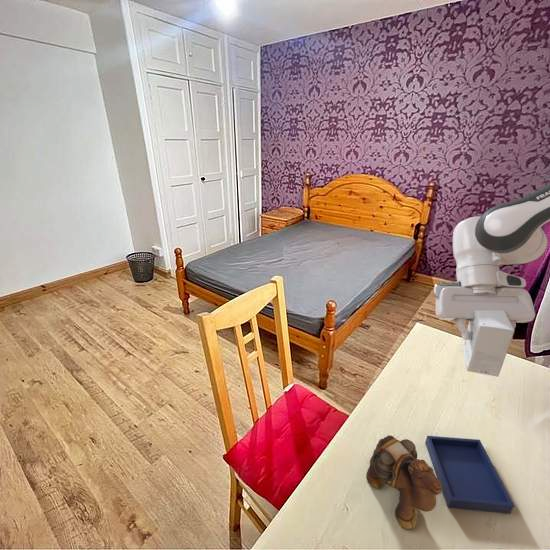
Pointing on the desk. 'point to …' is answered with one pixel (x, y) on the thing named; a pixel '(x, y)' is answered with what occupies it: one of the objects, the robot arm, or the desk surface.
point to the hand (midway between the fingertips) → (487, 340)
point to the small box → (487, 342)
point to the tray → (467, 475)
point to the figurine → (404, 478)
